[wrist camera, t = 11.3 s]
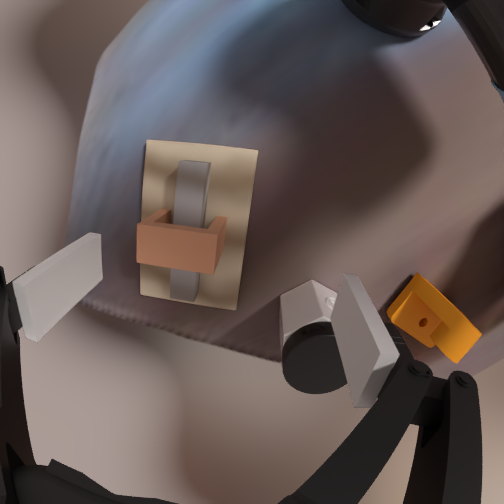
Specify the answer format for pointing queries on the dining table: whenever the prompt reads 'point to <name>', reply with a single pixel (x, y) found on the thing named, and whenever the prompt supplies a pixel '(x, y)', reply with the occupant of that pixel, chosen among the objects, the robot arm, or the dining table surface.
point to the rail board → (219, 205)
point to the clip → (180, 243)
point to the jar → (310, 339)
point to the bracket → (433, 319)
